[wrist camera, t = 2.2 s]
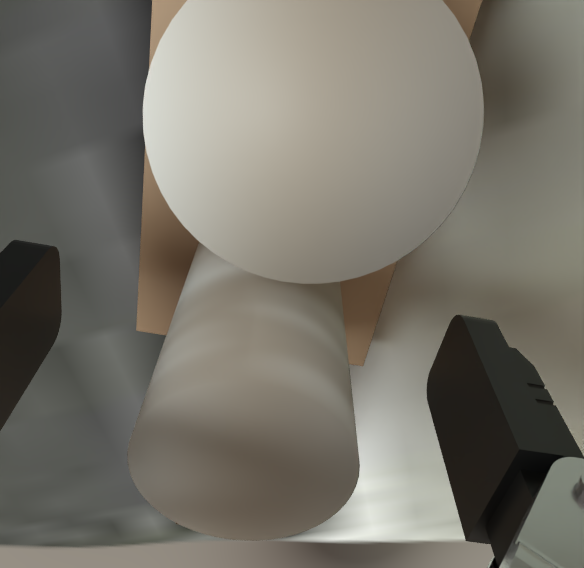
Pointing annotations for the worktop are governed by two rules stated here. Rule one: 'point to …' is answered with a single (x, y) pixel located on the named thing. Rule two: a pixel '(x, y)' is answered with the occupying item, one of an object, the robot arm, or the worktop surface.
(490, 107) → the worktop surface
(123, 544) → the worktop surface
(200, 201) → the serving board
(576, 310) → the worktop surface
